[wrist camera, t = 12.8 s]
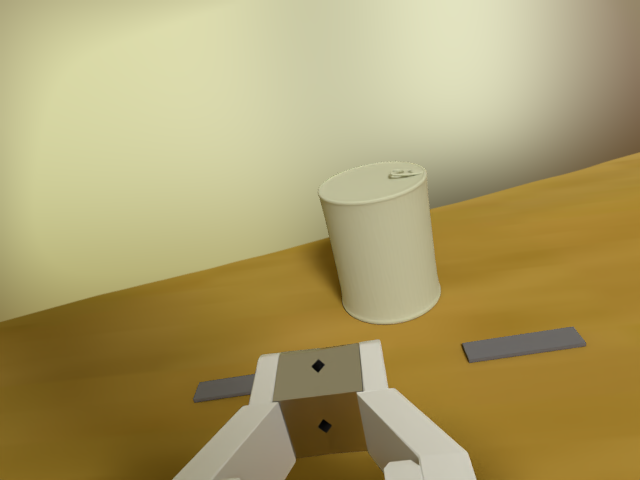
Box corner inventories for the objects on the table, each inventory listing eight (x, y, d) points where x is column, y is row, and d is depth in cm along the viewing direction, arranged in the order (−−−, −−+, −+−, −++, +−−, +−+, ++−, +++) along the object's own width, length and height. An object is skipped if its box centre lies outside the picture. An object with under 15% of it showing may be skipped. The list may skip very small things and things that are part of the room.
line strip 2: (469, 362, 31) (468, 359, 31) (462, 346, 33) (462, 343, 33) (585, 346, 30) (585, 342, 30) (572, 329, 32) (573, 326, 32)
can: (447, 319, 36) (433, 184, 31) (339, 330, 38) (308, 204, 33) (434, 263, 44) (421, 149, 39) (345, 274, 46) (321, 166, 41)
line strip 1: (194, 402, 34) (193, 399, 34) (200, 385, 35) (199, 382, 35) (294, 387, 33) (293, 385, 33) (296, 370, 34) (295, 368, 34)
